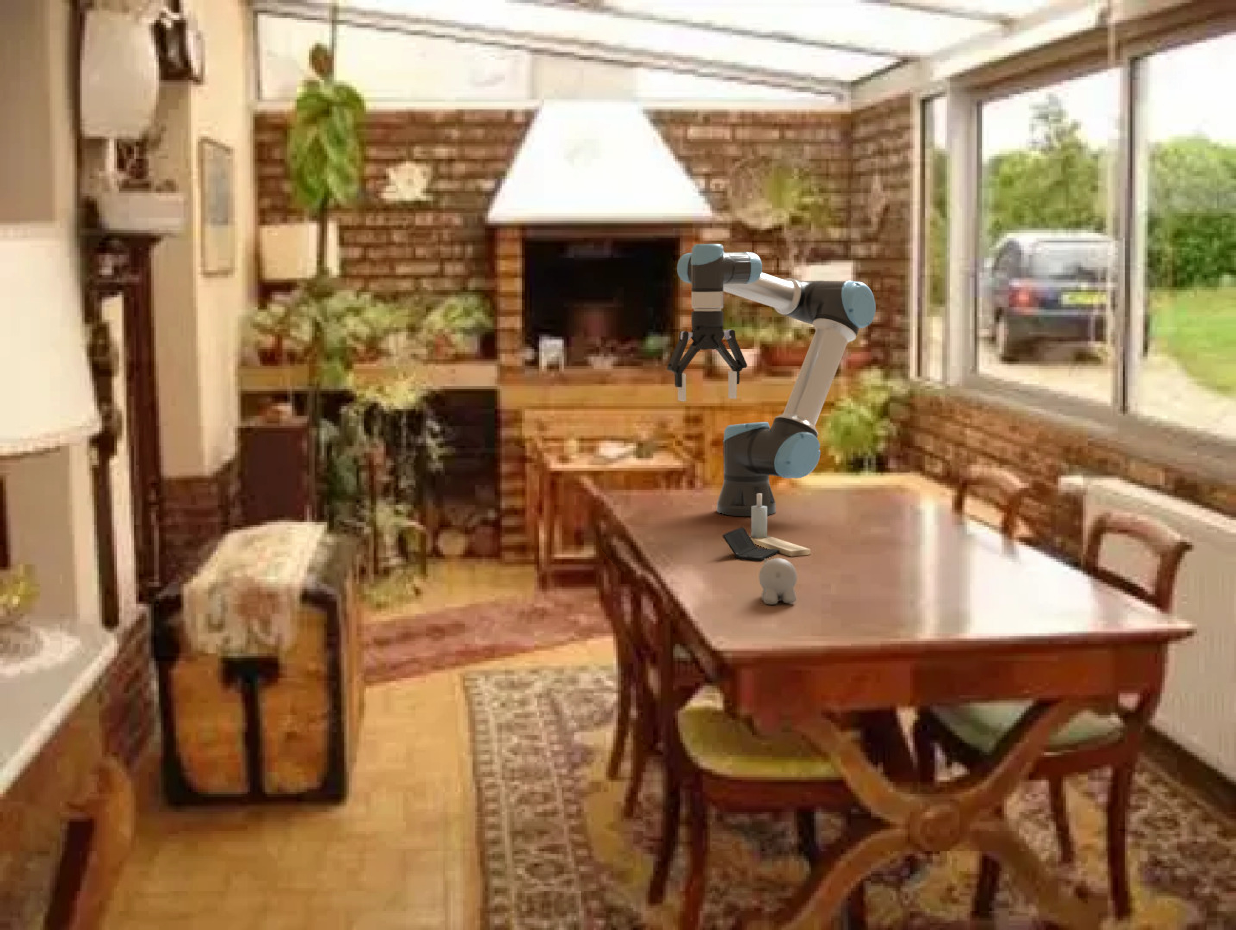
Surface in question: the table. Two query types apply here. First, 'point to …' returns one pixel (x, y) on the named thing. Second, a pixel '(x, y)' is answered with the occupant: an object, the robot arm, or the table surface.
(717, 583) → the table surface
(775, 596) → the toy rhinoceros
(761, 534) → the grey bottle
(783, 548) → the batten
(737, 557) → the handheld gaming console
